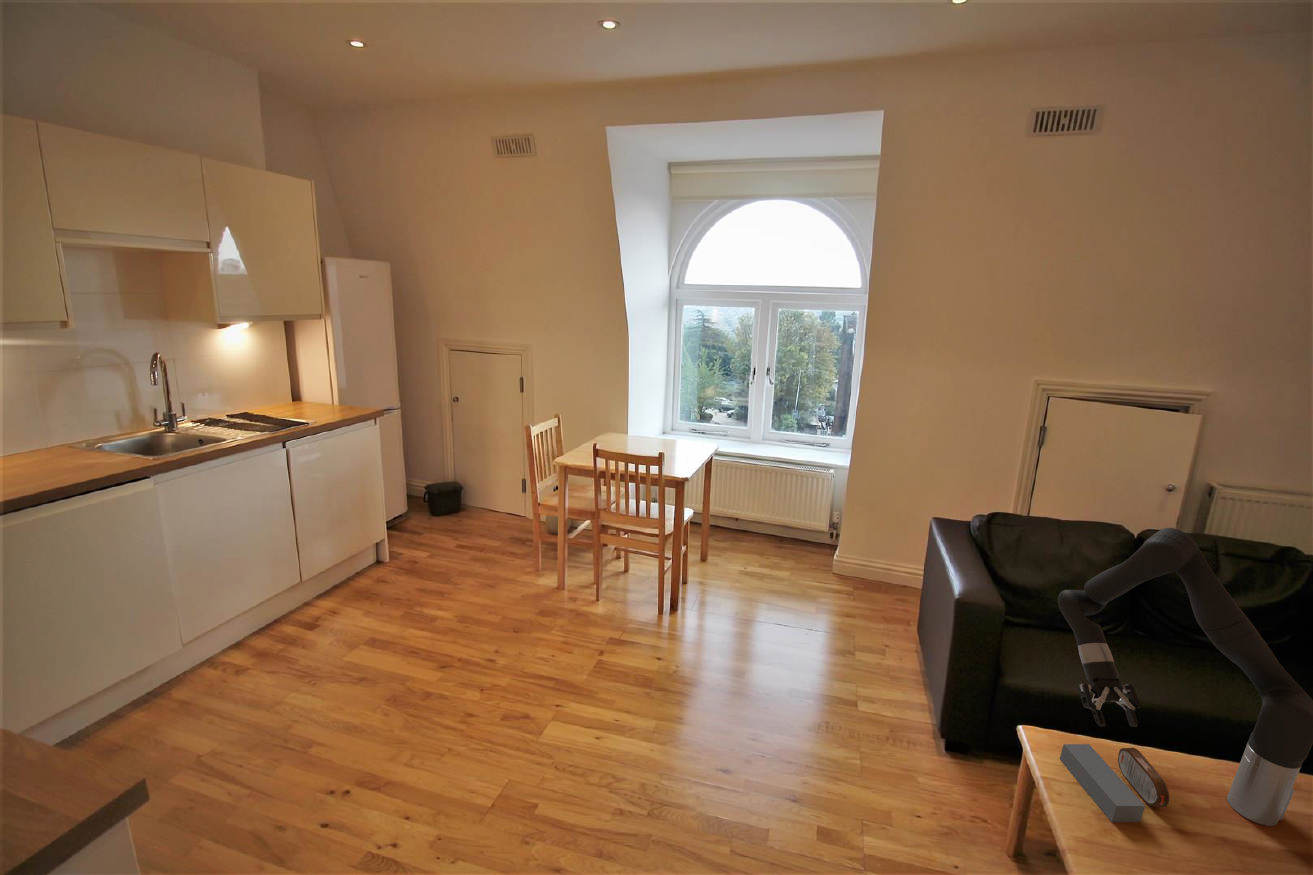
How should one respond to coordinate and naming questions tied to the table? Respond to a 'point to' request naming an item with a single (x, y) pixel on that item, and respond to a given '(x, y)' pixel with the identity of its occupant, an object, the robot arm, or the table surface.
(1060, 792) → the table surface
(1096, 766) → the base brick
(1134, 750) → the tin
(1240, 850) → the table surface
